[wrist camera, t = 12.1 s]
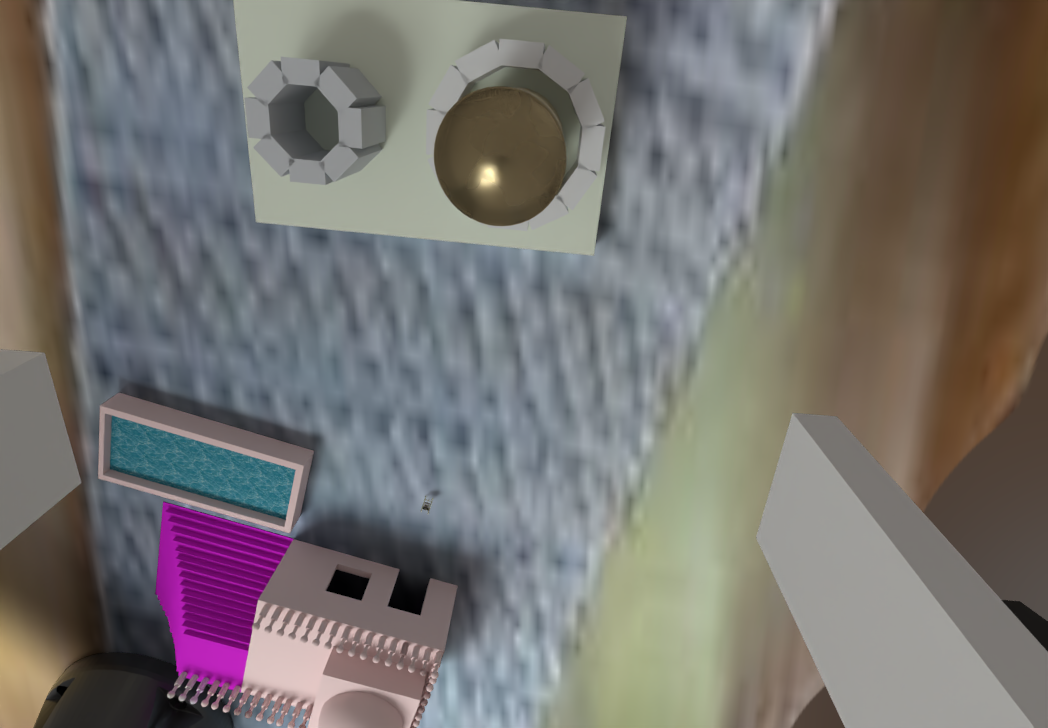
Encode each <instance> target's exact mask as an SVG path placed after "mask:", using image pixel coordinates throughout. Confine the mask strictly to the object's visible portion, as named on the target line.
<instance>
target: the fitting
mask: <svg viewBox="0 0 1048 728" xmlns="http://www.w3.org/2000/svg"><path fill="white" fill-rule="evenodd" d="M434 165H435V171H436V175H437V178H438V181H439V183H440V186H441V188H442V190H443V191H444V193H445V195H446V196H447V198H448V199H449V200H450V202H451V203H452V204H453V205H454V206H455V207H456V208H457V209H458V210H459V211H461V212H462V213H463V214H464V215H466V216H468V217H469V218H471V219H473V220H475V221H477V222H480V223H483V224H487V225H492V226H512V225H516V224H520V223H523V222H525V221H528V220H530V219H532V218H533V217H535V216H537V215H538V214H539V213H541V212H542V211H543V210H544V209H545V208H546V207H547V206H548V205H549V204H550V203H551V202H552V200H553V199H554V198H555V196H556V194H557V193H558V191H559V189H560V186H561V184H562V181H563V178H564V175H565V169H566V145H565V140H564V135H563V130H562V124H561V121H560V118H559V115H558V113H557V111H556V109H555V108H554V106H553V105H552V104H551V103H550V101H549V100H547V99H546V98H545V97H544V96H543V95H541V94H540V93H538V92H536V91H534V90H531V89H527V88H521V87H508V86H493V87H486V88H482V89H478V90H476V91H474V92H471V93H469V94H467V95H466V96H464V97H463V98H461V99H460V100H459V101H458V102H456V103H455V104H454V105H453V106H452V107H451V109H450V110H449V111H448V112H447V114H446V115H445V117H444V118H443V120H442V122H441V124H440V126H439V129H438V132H437V135H436V139H435V144H434Z"/></svg>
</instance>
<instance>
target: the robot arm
mask: <svg viewBox="0 0 1048 728" xmlns="http://www.w3.org/2000/svg"><path fill="white" fill-rule="evenodd" d="M79 484H81V479H80V476H79V472H78V469H77V465H76V462H75V458H74V455H73V451H72V448H71V444H70V441H69V437H68V434H67V430H66V426H65V423H64V419H63V416H62V412H61V409H60V405H59V402H58V398H57V395H56V391H55V388H54V384H53V381H52V377H51V374H50V370H49V367H48V363H47V360H46V356H45V353H41V352H29V351H17V350H4V349H1V350H0V550H1V549H2V548H4V547H5V546H6V545H7V544H8V543H10V542H11V541H12V540H13V539H14V538H16V537H17V536H18V535H19V534H20V533H22V532H23V531H24V530H25V529H26V528H28V527H29V526H30V525H31V524H32V523H34V522H35V521H36V520H37V519H38V518H40V517H41V516H42V515H43V514H44V513H46V512H47V511H48V510H49V509H50V508H52V507H53V506H54V505H55V504H57V503H58V502H59V501H60V500H61V499H63V498H64V497H65V496H66V495H67V494H69V493H70V492H71V491H72V490H73V489H75V488H76V487H77V486H78V485H79ZM756 539H757V541H758V543H759V545H760V547H761V549H762V551H763V553H764V556H765V558H766V560H767V562H768V564H769V566H770V568H771V570H772V573H773V575H774V577H775V579H776V581H777V583H778V585H779V588H780V590H781V592H782V594H783V596H784V598H785V600H786V602H787V605H788V607H789V609H790V611H791V613H792V615H793V617H794V620H795V622H796V624H797V626H798V628H799V630H800V632H801V634H802V637H803V639H804V641H805V643H806V645H807V647H808V649H809V651H810V654H811V656H812V658H813V660H814V662H815V664H816V666H817V669H818V671H819V673H820V675H821V677H822V679H823V681H824V683H825V686H826V688H827V690H828V692H829V694H830V696H831V698H832V701H833V703H834V704H835V707H836V709H837V711H838V713H839V715H840V717H841V720H842V722H843V724H844V726H845V728H1048V621H1046V620H1045V619H1043V618H1042V617H1041V616H1039V615H1038V614H1037V613H1035V612H1034V611H1032V610H1031V609H1030V608H1028V607H1027V606H1025V605H1024V604H1023V603H1021V602H1020V601H1008V600H1001V599H1000V598H999V597H998V596H997V595H996V594H995V593H994V591H993V590H992V589H991V588H990V587H989V586H988V585H987V584H986V583H985V581H984V580H983V579H982V578H981V577H980V576H979V575H978V574H977V572H976V571H975V570H974V569H973V568H972V567H971V566H970V565H969V564H968V563H967V561H966V560H965V559H964V558H963V557H962V556H961V555H960V554H959V552H958V551H957V550H956V549H955V548H954V547H953V546H952V545H951V543H950V542H949V541H948V540H947V539H946V538H945V537H944V536H943V535H942V533H941V532H940V531H939V530H938V529H937V528H936V527H935V526H934V524H933V523H932V522H931V521H930V520H929V519H928V518H927V517H926V516H925V514H924V513H923V512H922V511H921V510H920V509H919V508H918V507H917V506H916V504H915V503H914V502H913V501H912V500H911V499H910V498H909V497H908V495H907V494H906V493H905V492H904V491H903V490H902V489H901V488H900V487H899V485H898V484H897V483H896V482H895V481H894V480H893V479H892V478H891V477H890V475H889V474H888V473H887V472H886V471H885V470H884V469H883V468H882V466H881V465H880V464H879V463H878V462H877V461H876V460H875V459H874V458H873V456H872V455H871V454H870V453H869V452H868V451H867V450H866V449H865V448H864V446H863V445H862V444H861V443H860V442H859V441H858V440H857V439H856V437H855V436H854V435H853V434H852V433H851V432H850V431H849V430H848V429H847V427H846V426H845V425H844V424H843V423H842V422H841V421H840V420H839V419H838V417H837V416H825V415H812V414H800V413H793V414H792V417H791V420H790V424H789V427H788V431H787V434H786V437H785V441H784V444H783V448H782V451H781V455H780V458H779V461H778V465H777V468H776V472H775V475H774V478H773V482H772V485H771V489H770V492H769V495H768V499H767V502H766V506H765V509H764V513H763V516H762V519H761V523H760V526H759V530H758V533H757V536H756ZM176 670H177V666H175V665H173V664H170V663H168V662H165V661H162V660H159V659H156V658H153V657H149V656H144V655H139V654H133V653H120V652H112V653H101V654H96V655H91V656H88V657H85V658H83V659H80V660H78V661H77V662H75V663H73V664H72V665H71V666H70V667H68V668H67V669H66V671H65V672H64V673H63V674H62V675H61V677H60V678H59V679H58V680H57V681H56V683H55V684H54V685H53V687H52V688H51V690H50V692H49V693H48V695H47V698H46V700H45V702H44V704H43V707H42V709H41V711H40V713H39V716H38V718H37V720H36V723H35V725H34V727H33V728H233V726H232V721H231V717H230V714H229V712H226V713H225V712H223V707H224V706H225V705H224V703H223V702H222V700H221V699H220V701H219V703H218V704H219V706H218V708H217V709H215V710H213V709H212V708H211V705H212V703H214V702H216V700H217V698H218V697H217V694H216V693H214V695H213V696H211V697H210V699H209V704H208V705H207V706H206V707H202V705H201V703H202V701H203V700H205V699H206V697H207V696H208V694H207V693H208V691H209V689H210V687H209V686H207V685H206V687H205V689H204V690H203V692H202V693H200V694H199V696H198V697H197V698H198V700H197V702H196V703H195V704H191V703H190V699H191V698H192V697H194V696H195V694H196V693H197V691H196V690H197V688H198V686H199V685H200V683H201V682H199V681H196V682H195V684H194V686H193V687H192V689H191V690H189V691H188V693H187V694H186V699H185V700H184V701H180V700H179V696H180V695H181V694H183V693H184V691H185V690H186V688H185V687H186V685H187V683H188V682H189V680H190V679H188V678H185V680H184V681H183V683H182V684H181V686H180V687H178V688H177V689H176V691H175V696H174V697H173V698H168V697H167V694H168V692H170V691H172V690H173V688H174V684H175V682H176V680H177V679H178V677H179V676H178V674H179V671H176Z"/></svg>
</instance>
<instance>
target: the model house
mask: <svg viewBox="0 0 1048 728" xmlns="http://www.w3.org/2000/svg"><path fill="white" fill-rule="evenodd" d="M313 453H314V451H313V450H310V449H306V448H303V447H300V446H296V445H293V444H290V443H286V442H283V441H279V440H276V439H273V438H269V437H266V436H263V435H259V434H256V433H253V432H249V431H246V430H243V429H239V428H236V427H233V426H229V425H226V424H223V423H219V422H216V421H213V420H209V419H206V418H203V417H199V416H196V415H192V414H189V413H186V412H182V411H179V410H176V409H172V408H169V407H166V406H162V405H159V404H156V403H152V402H149V401H146V400H142V399H139V398H136V397H132V396H129V395H126V394H122V393H117V394H116V395H114V396H113V397H112V398H110V399H109V400H107V401H106V402H104V403H103V404H101V405H100V425H99V464H98V479H102V480H105V481H109V482H112V483H116V484H119V485H123V486H126V487H130V488H133V489H137V490H140V491H144V492H147V493H151V494H154V495H158V496H161V497H165V498H168V499H172V500H175V501H179V502H182V503H186V504H189V505H193V506H196V507H200V508H203V509H207V510H210V511H214V512H217V513H221V514H224V515H228V516H231V517H235V518H238V519H242V520H245V521H249V522H252V523H256V524H259V525H263V526H266V527H270V528H273V529H277V530H280V531H284V532H287V533H290V532H291V531H292V529H293V527H294V526H295V524H296V522H297V521H298V519H299V517H300V514H301V510H302V505H303V500H304V496H305V491H306V486H307V481H308V477H309V472H310V467H311V463H312V458H313ZM425 500H426V496H425V499H424V503H423V506H422V509H425V510H428V513H429V510H430V507H431V504H432V501H431V504H430V503H427V502H425ZM432 500H433V498H432ZM428 501H429V500H428ZM422 509H421V511H422ZM336 569H337V570H340V571H344V572H347V573H351V574H354V575H358V576H361V577H365V578H368V579H370V580H369V582H368V585H367V588H366V590H365V593H364V596H363V598H362V601H360V600H357V599H353V598H350V597H346V596H342V595H339V594H335V593H332V592H328V591H326V590H327V588H328V586H329V584H330V582H331V579H332V577H333V575H334V573H335V571H336ZM399 570H400V569H397V568H393V567H390V566H386V565H383V564H379V563H376V562H372V561H369V560H365V559H362V558H358V557H355V556H351V555H348V554H344V553H341V552H337V551H334V550H330V549H327V548H323V547H320V546H316V545H313V544H309V543H305V542H302V541H298V540H295V539H293V538H289V537H286V536H282V535H279V534H275V533H272V532H268V531H265V530H261V529H258V528H254V527H251V526H247V525H244V524H240V523H237V522H233V521H230V520H226V519H223V518H219V517H216V516H212V515H209V514H205V513H202V512H198V511H194V510H191V509H187V508H184V507H180V506H177V505H173V504H170V503H166V502H163V510H162V522H161V534H160V546H159V557H158V569H157V581H156V592H155V594H156V595H158V600H160V605H162V606H163V611H165V616H168V622H169V627H170V632H172V638H174V640H173V643H175V646H174V649H175V654H176V659H175V660H177V662H176V665H177V670H176V671H179V674H178V676H179V677H178V679H177V680H176V682H175V684H174V688H173V690H172V691H170V692H168V694H167V697H168V698H173V697H174V696H175V691H176V689H177V688H178V687H180V686H181V684H182V683H183V681H184V680H185V678H188V679H190V680H189V682H188V683H187V685H186V687H185V688H186V690H185V691H184V693H183V694H181V695H180V696H179V700H180V701H184V700H185V699H186V694H187V693H188V691H189V690H191V689H192V687H193V686H194V684H195V682H196V681H199V682H201V683H200V685H199V686H198V688H197V690H196V691H197V693H196V694H195V696H194V697H192V698H191V699H190V703H191V704H195V703H196V702H197V700H198V698H197V697H198V696H199V694H200V693H202V692H203V690H204V689H205V687H206V685H207V684H211V685H212V686H211V687H210V689H209V691H208V693H207V694H208V696H207V697H206V699H205V700H203V701H202V703H201V705H202V707H206V706H207V705H208V704H209V699H210V697H211V696H213V695H214V693H215V691H216V690H217V688H218V686H219V687H222V688H221V690H220V691H219V693H218V695H217V697H218V698H217V700H216V702H214V703H212V705H211V708H212V709H213V710H215V709H217V708H218V706H219V704H218V703H219V701H220V699H221V698H223V697H224V695H225V693H226V692H227V690H228V689H230V690H233V691H232V693H231V695H230V697H229V702H228V704H227V705H225V706H224V707H223V712H225V713H226V712H228V711H229V710H230V705H231V703H232V701H235V699H236V697H237V695H238V693H239V692H242V693H243V695H242V697H241V699H240V701H239V702H240V705H239V706H238V708H236V709H235V710H234V714H235V715H239V714H240V713H241V708H242V706H243V704H245V703H246V701H247V699H248V697H249V695H253V696H254V698H253V700H252V702H251V704H250V705H251V707H250V709H249V711H247V712H246V713H245V717H246V718H250V717H251V716H252V710H253V708H254V707H256V706H257V704H258V702H259V700H260V697H261V698H265V700H264V702H263V704H262V706H261V708H262V710H261V712H260V713H259V714H258V715H257V716H256V720H257V721H261V720H262V719H263V713H264V711H265V710H266V709H267V708H268V706H269V704H270V702H271V700H272V701H276V702H275V705H274V707H273V709H272V711H273V713H272V715H271V716H270V717H269V718H268V719H267V722H268V724H272V723H273V722H274V716H275V713H277V712H278V711H279V708H280V706H281V704H282V703H284V707H283V709H282V711H281V713H282V715H281V717H280V719H278V720H277V722H276V724H277V726H281V725H282V724H283V718H284V716H285V715H286V714H287V713H288V710H289V708H290V706H291V705H292V706H296V707H295V710H294V712H293V714H292V716H293V719H292V721H291V722H289V723H288V728H294V726H295V723H294V722H295V719H296V718H297V717H298V716H299V714H300V711H301V709H302V708H303V709H306V712H305V714H304V717H303V719H304V721H303V723H302V724H301V725H300V726H299V728H306V726H305V724H306V721H307V720H309V718H310V721H309V725H308V728H416V727H417V726H418V725H419V720H421V718H422V713H423V712H424V711H425V708H424V706H426V705H427V703H428V701H427V699H429V698H430V692H431V691H432V690H433V685H432V684H435V683H436V680H437V679H436V678H437V677H438V668H439V667H440V664H441V659H442V656H443V654H444V651H445V646H446V641H447V636H448V631H449V626H450V621H451V616H452V611H453V606H454V601H455V596H456V591H457V587H458V586H457V585H453V584H450V583H446V582H443V581H439V580H436V579H432V578H430V580H429V583H428V587H427V591H426V595H425V599H424V602H423V606H422V610H421V614H420V615H416V614H413V613H409V612H406V611H402V610H398V609H395V608H391V607H388V603H389V600H390V597H391V594H392V591H393V588H394V585H395V582H396V579H397V576H398V573H399ZM311 713H312V714H311ZM310 716H311V717H310Z"/></svg>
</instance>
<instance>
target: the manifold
mask: <svg viewBox="0 0 1048 728" xmlns="http://www.w3.org/2000/svg"><path fill="white" fill-rule="evenodd" d="M233 3H234V13H235V23H236V32H237V42H238V52H239V62H240V71H241V81H242V91H243V101H244V110H245V120H246V130H247V139H248V149H249V159H250V169H251V178H252V188H253V198H254V208H255V217H256V222H258V223H268V224H278V225H288V226H299V227H309V228H319V229H329V230H339V231H349V232H359V233H369V234H380V235H390V236H400V237H410V238H420V239H430V240H440V241H450V242H461V243H471V244H481V245H491V246H501V247H511V248H521V249H531V250H542V251H552V252H562V253H572V254H582V255H592V256H594V250H595V243H596V236H597V229H598V222H599V215H600V207H601V200H602V193H603V186H604V179H605V171H606V164H607V157H608V150H609V143H610V136H611V128H612V121H613V114H614V107H615V100H616V92H617V85H618V78H619V71H620V64H621V56H622V49H623V42H624V35H625V28H626V21H627V16H617V15H606V14H596V13H585V12H575V11H564V10H554V9H543V8H533V7H522V6H512V5H501V4H491V3H480V2H470V1H459V0H233ZM493 86H508V87H521V88H527V89H531V90H534V91H536V92H538V93H540V94H541V95H543V96H544V97H545V98H546V99H547V100H549V101H550V103H551V104H552V105H553V106H554V108H555V109H556V111H557V113H558V115H559V118H560V121H561V124H562V130H563V135H564V140H565V145H566V169H565V175H564V178H563V181H562V184H561V186H560V189H559V191H558V193H557V194H556V196H555V198H554V199H553V200H552V202H551V203H550V204H549V205H548V206H547V207H546V208H545V209H544V210H543V211H542V212H541V213H539V214H538V215H537V216H535V217H533V218H532V219H530V220H528V221H525V222H523V223H520V224H516V225H512V226H492V225H487V224H483V223H480V222H477V221H475V220H473V219H471V218H469V217H468V216H466V215H464V214H463V213H462V212H461V211H459V210H458V209H457V208H456V207H455V206H454V205H453V204H452V203H451V202H450V200H449V199H448V198H447V196H446V195H445V193H444V191H443V190H442V188H441V186H440V183H439V181H438V178H437V175H436V171H435V165H434V144H435V139H436V135H437V132H438V129H439V126H440V124H441V122H442V120H443V118H444V117H445V115H446V114H447V112H448V111H449V110H450V109H451V107H452V106H453V105H454V104H455V103H456V102H458V101H459V100H460V99H461V98H463V97H464V96H466V95H467V94H469V93H471V92H474V91H476V90H478V89H482V88H486V87H493Z"/></svg>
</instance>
